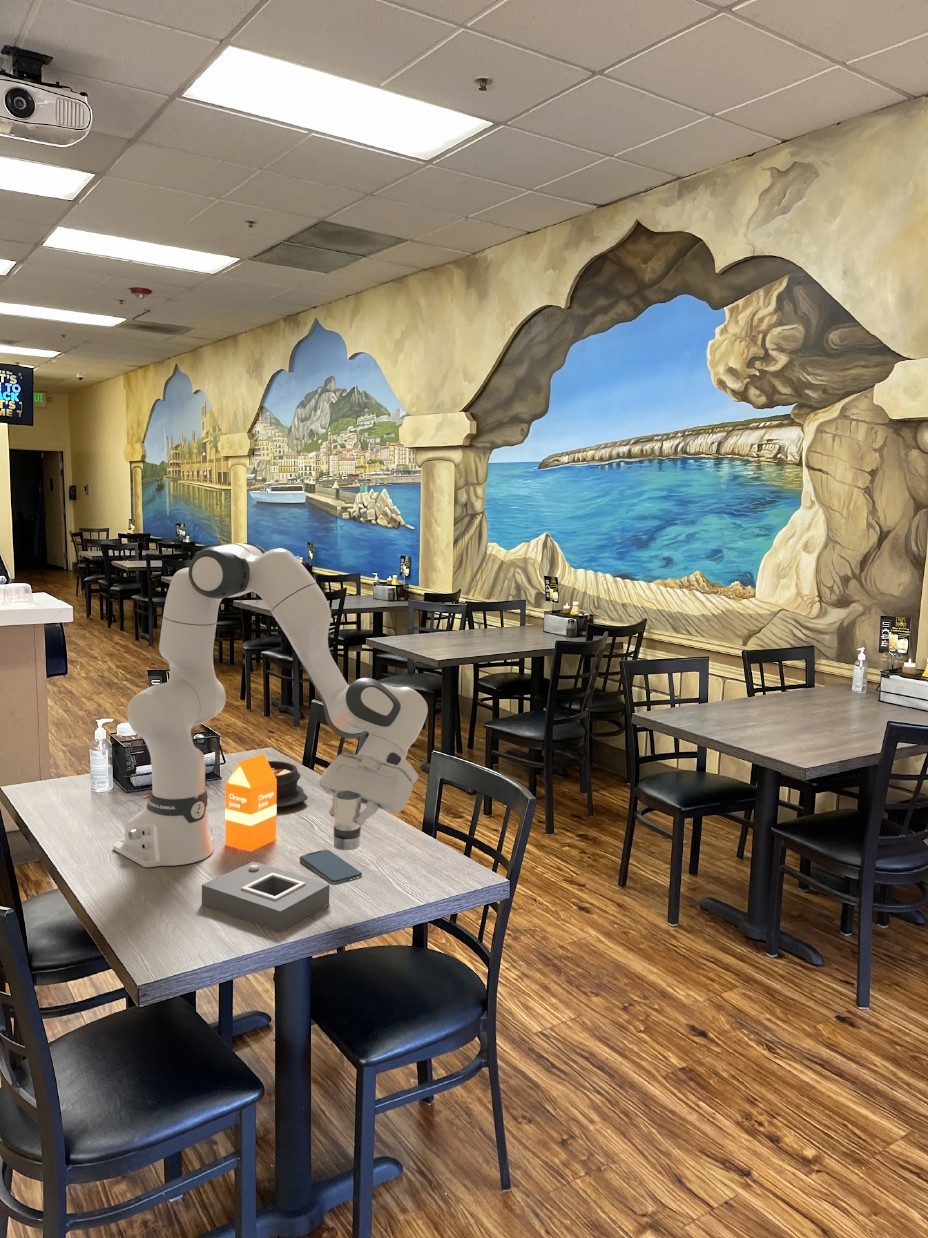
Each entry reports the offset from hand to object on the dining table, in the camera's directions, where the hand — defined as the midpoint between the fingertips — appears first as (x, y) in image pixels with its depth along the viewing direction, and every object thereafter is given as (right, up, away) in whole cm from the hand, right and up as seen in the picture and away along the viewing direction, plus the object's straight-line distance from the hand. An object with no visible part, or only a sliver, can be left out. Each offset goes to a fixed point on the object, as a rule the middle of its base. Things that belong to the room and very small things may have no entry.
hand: (345, 819), depth 167 cm
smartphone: (-6, -16, +18) cm, 25 cm away
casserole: (-29, -9, +62) cm, 69 cm away
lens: (0, -5, +1) cm, 5 cm away
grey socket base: (-16, -17, 0) cm, 23 cm away
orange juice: (-26, -13, +32) cm, 43 cm away
